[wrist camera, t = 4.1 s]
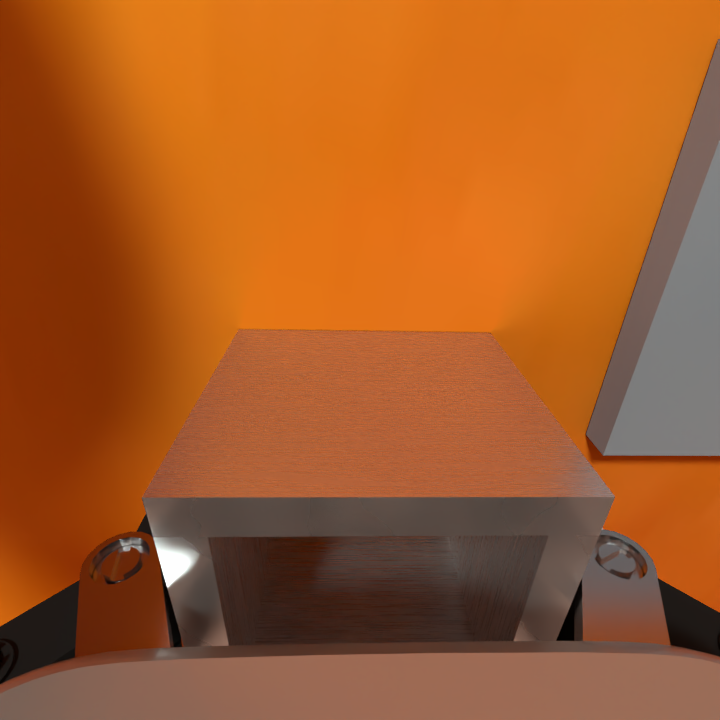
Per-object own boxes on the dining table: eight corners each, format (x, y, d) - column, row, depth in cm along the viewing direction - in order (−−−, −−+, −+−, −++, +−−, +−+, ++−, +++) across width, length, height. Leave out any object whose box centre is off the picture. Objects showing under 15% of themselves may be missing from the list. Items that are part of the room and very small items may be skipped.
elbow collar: (238, 329, 11) (141, 497, 6) (490, 333, 12) (614, 497, 6) (267, 582, 16) (227, 802, 11) (445, 580, 16) (493, 794, 11)
